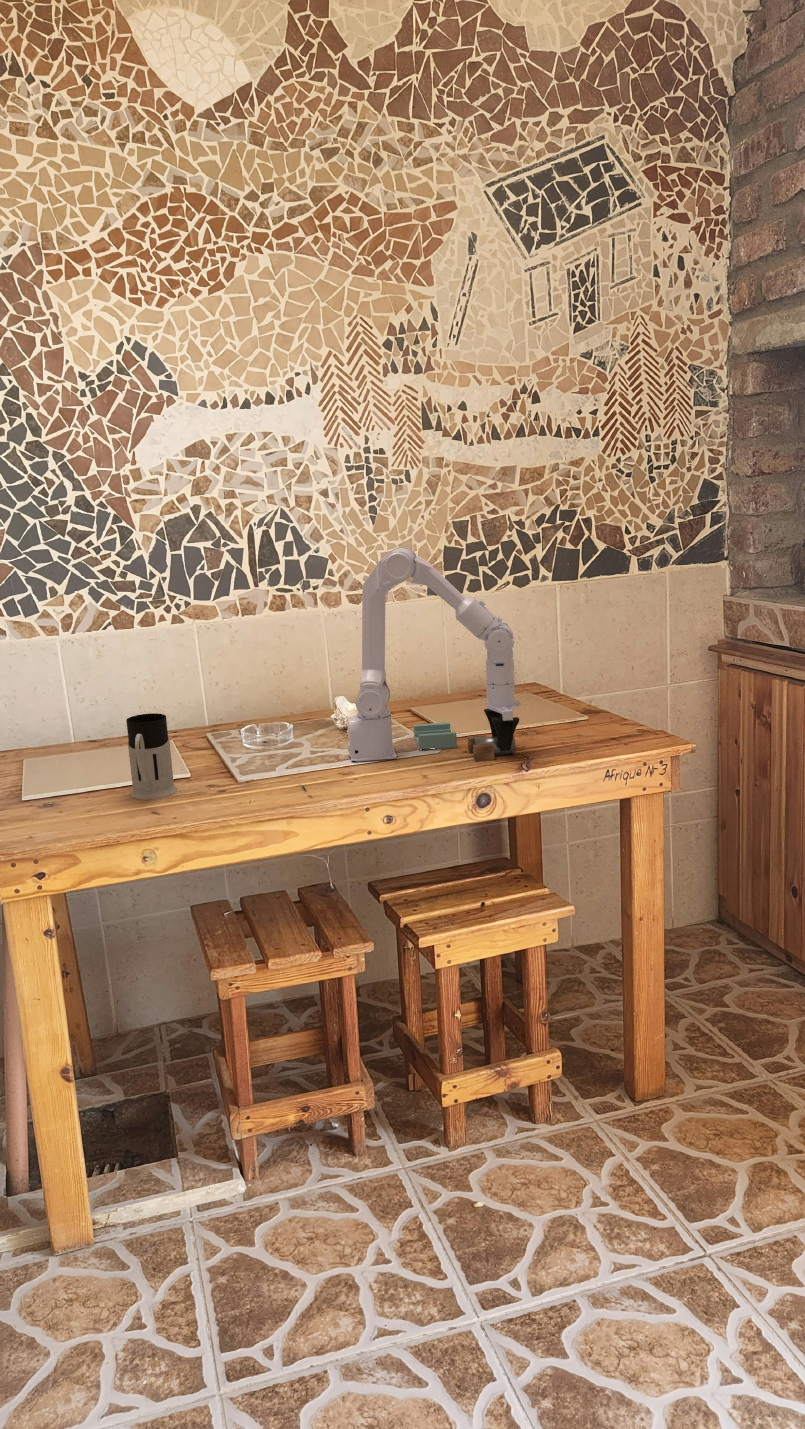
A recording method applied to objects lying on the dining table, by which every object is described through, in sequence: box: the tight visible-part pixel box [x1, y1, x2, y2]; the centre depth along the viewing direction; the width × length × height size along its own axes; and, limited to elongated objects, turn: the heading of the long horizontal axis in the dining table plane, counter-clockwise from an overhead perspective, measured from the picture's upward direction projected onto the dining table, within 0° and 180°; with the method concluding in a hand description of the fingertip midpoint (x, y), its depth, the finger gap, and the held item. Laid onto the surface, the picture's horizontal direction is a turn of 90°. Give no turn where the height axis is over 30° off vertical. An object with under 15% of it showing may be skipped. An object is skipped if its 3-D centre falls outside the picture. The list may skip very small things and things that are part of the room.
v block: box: [413, 721, 458, 750], centre depth 236 cm, size 8×10×3 cm
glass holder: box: [125, 712, 178, 801], centre depth 207 cm, size 9×14×15 cm, turn 1°
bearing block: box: [467, 734, 495, 762], centre depth 226 cm, size 4×9×3 cm, turn 6°
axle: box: [474, 735, 516, 756], centre depth 226 cm, size 8×4×4 cm, turn 96°
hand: (502, 746), depth 226 cm, fingers open, 6 cm apart
